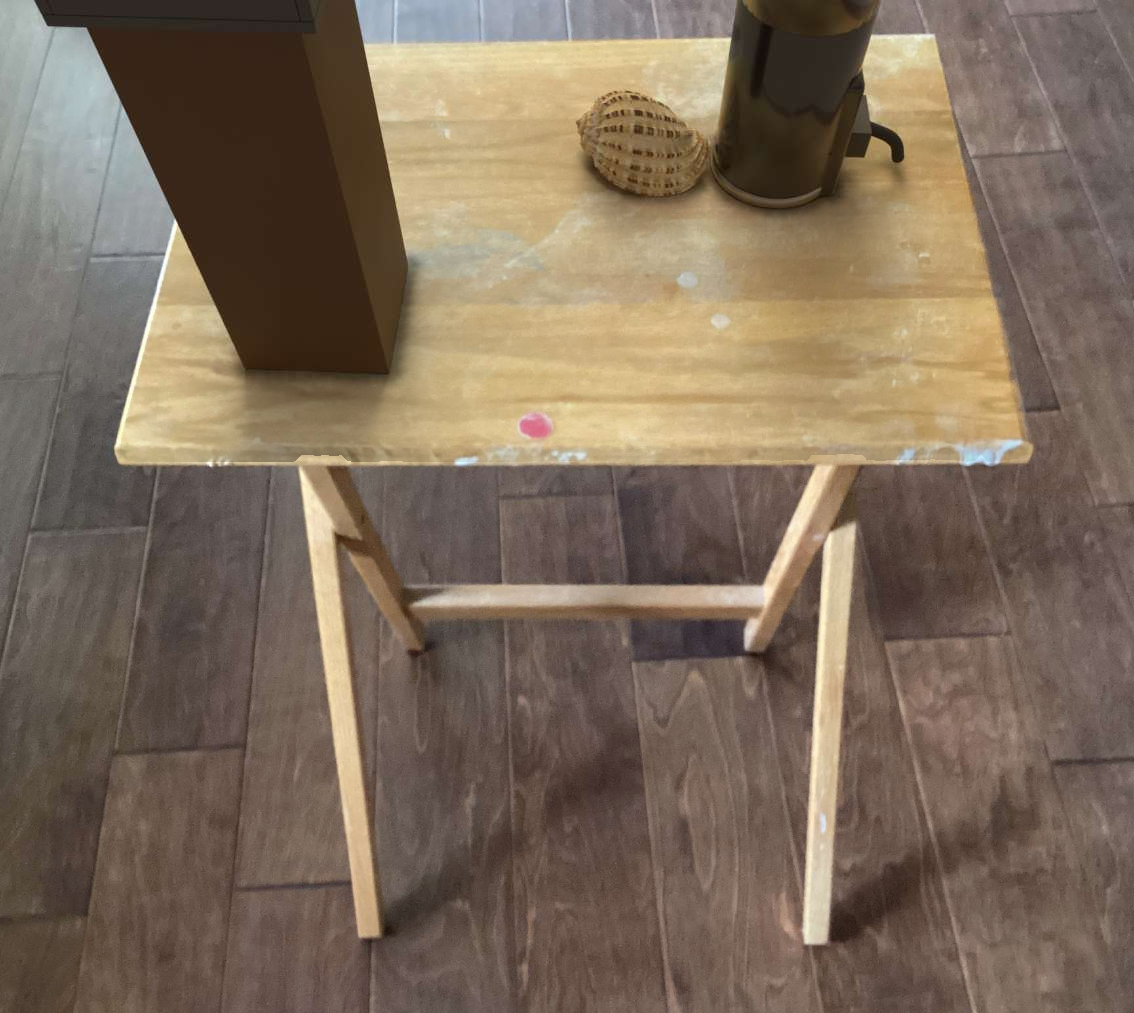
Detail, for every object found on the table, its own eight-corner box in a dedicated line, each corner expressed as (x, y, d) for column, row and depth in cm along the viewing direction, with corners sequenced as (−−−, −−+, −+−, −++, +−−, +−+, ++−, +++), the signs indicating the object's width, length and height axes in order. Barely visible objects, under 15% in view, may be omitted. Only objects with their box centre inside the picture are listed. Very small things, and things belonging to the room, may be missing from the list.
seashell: (668, 154, 82) (560, 123, 77) (706, 95, 77) (593, 58, 73) (689, 220, 78) (576, 192, 73) (730, 162, 73) (613, 127, 69)
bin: (425, 254, 72) (336, -245, 45) (403, 387, 66) (285, -96, 39) (261, 248, 73) (73, -250, 45) (224, 381, 66) (-19, -103, 39)
